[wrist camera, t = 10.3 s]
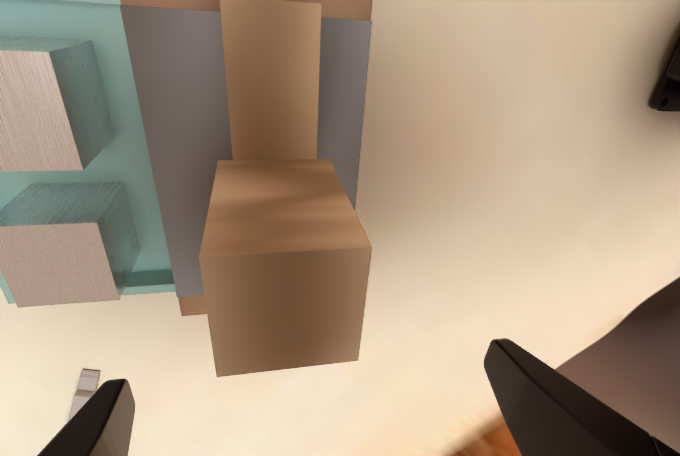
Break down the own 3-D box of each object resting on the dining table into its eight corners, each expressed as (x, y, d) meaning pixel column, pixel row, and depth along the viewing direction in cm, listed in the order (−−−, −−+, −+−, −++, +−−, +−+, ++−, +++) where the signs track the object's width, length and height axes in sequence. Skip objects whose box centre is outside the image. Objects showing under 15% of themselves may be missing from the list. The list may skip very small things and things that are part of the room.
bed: (358, -23, 17) (376, -25, 14) (337, 275, 25) (346, 304, 22) (130, -42, 15) (109, -48, 13) (188, 286, 23) (181, 318, 21)
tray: (130, -12, 15) (119, -12, 14) (182, 273, 22) (177, 290, 21) (-115, -28, 14) (-155, -31, 12) (24, 283, 21) (8, 303, 19)
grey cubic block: (96, 222, 15) (-21, 226, 15) (119, 299, 17) (18, 307, 17) (124, 181, 19) (30, 183, 18) (140, 250, 21) (57, 254, 20)
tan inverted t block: (322, 3, 14) (400, 12, 7) (312, 293, 22) (346, 455, 14) (210, -5, 14) (159, -4, 6) (238, 299, 21) (231, 474, 13)
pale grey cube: (48, 51, 12) (-104, 46, 11) (83, 170, 14) (-45, 172, 14) (92, 39, 16) (-24, 34, 15) (115, 136, 18) (14, 136, 17)
